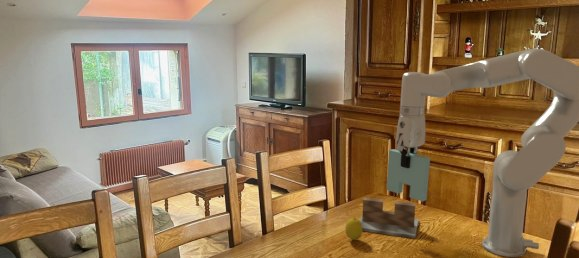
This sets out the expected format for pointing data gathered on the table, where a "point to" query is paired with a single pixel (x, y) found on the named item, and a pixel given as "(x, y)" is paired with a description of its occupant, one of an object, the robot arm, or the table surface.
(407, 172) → the notched plate
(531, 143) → the robot arm
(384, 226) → the base
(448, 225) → the table surface
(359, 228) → the lemon
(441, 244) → the table surface
